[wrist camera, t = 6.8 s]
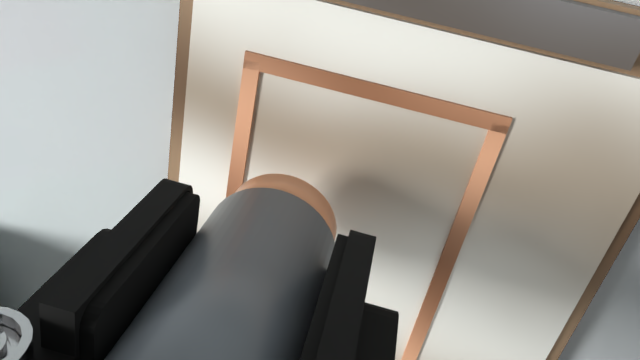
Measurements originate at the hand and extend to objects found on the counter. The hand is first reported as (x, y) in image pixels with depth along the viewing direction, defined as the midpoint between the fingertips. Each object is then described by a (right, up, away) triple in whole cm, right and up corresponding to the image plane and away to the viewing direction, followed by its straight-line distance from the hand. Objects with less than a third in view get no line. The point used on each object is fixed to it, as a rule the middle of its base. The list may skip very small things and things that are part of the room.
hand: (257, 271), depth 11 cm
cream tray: (+2, -3, +7) cm, 7 cm away
